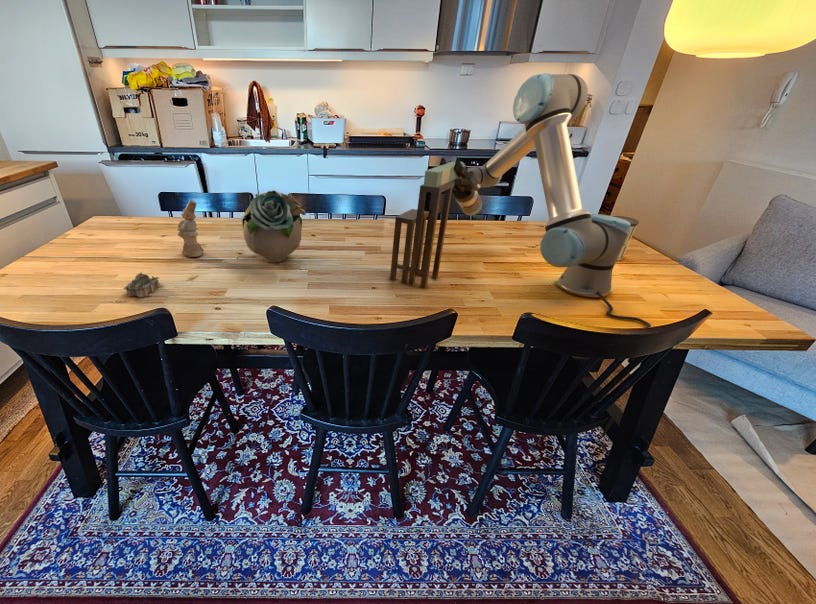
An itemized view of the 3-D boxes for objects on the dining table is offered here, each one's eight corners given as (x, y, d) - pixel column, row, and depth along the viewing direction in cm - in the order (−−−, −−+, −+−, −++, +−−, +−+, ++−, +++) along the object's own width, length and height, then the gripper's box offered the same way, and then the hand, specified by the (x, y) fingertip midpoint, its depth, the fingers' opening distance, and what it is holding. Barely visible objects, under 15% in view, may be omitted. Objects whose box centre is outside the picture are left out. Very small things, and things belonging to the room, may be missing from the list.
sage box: (449, 175, 127) (451, 161, 125) (461, 176, 126) (463, 162, 123) (423, 185, 114) (425, 170, 112) (436, 187, 112) (438, 172, 110)
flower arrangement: (319, 254, 154) (318, 188, 140) (281, 276, 137) (275, 202, 123) (269, 243, 165) (264, 180, 151) (227, 262, 147) (217, 193, 133)
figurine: (209, 252, 156) (199, 199, 144) (194, 259, 149) (183, 204, 138) (192, 249, 159) (181, 196, 147) (176, 256, 152) (164, 201, 141)
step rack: (405, 268, 144) (416, 176, 126) (439, 276, 138) (455, 181, 120) (389, 279, 135) (398, 182, 118) (424, 288, 129) (439, 188, 112)
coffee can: (588, 250, 160) (602, 215, 152) (615, 251, 160) (630, 216, 152) (599, 260, 152) (615, 222, 144) (628, 261, 151) (644, 223, 143)
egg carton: (144, 282, 132) (141, 271, 129) (164, 285, 130) (161, 273, 128) (122, 296, 123) (118, 284, 121) (143, 299, 122) (140, 286, 119)
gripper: (485, 206, 136) (472, 179, 115) (438, 199, 144) (418, 172, 123) (492, 184, 134) (481, 152, 114) (445, 178, 142) (426, 147, 122)
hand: (448, 163), depth 119 cm, fingers closed on sage box, 4 cm apart
